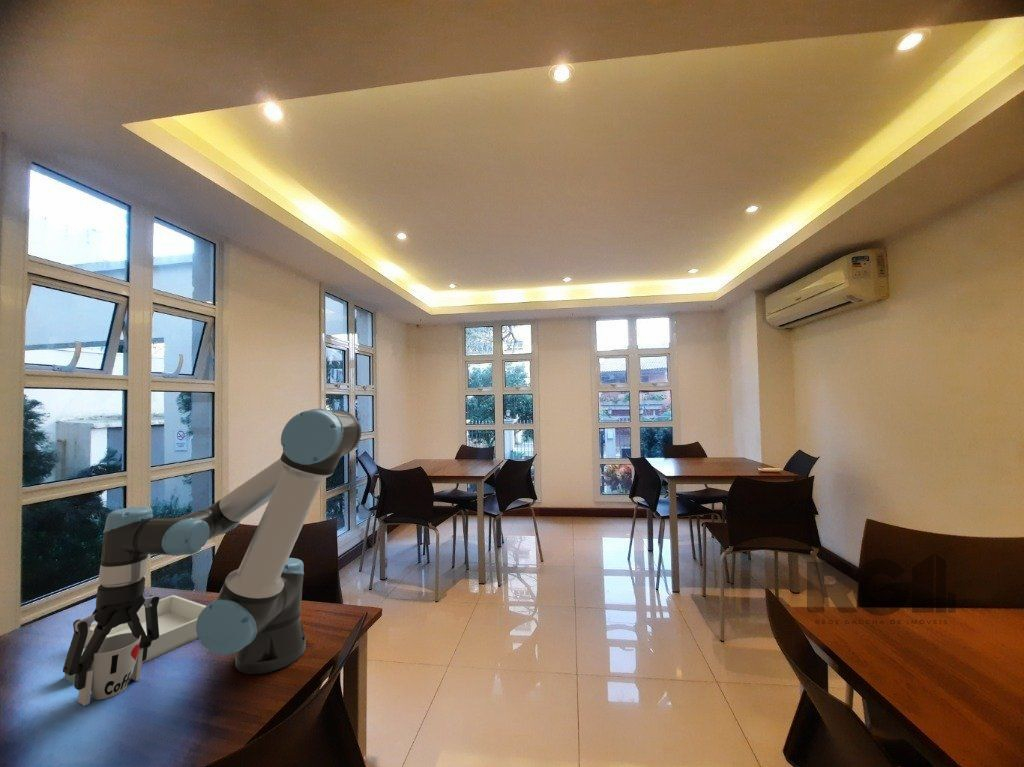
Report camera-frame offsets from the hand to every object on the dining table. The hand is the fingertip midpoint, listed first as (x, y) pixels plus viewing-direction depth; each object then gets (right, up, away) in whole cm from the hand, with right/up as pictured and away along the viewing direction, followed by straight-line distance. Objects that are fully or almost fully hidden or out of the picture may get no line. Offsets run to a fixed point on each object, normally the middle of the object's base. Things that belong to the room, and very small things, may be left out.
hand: (110, 689), depth 84 cm
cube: (-11, 0, +5) cm, 12 cm away
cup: (0, 0, 0) cm, 0 cm away
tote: (-9, -2, +20) cm, 22 cm away
